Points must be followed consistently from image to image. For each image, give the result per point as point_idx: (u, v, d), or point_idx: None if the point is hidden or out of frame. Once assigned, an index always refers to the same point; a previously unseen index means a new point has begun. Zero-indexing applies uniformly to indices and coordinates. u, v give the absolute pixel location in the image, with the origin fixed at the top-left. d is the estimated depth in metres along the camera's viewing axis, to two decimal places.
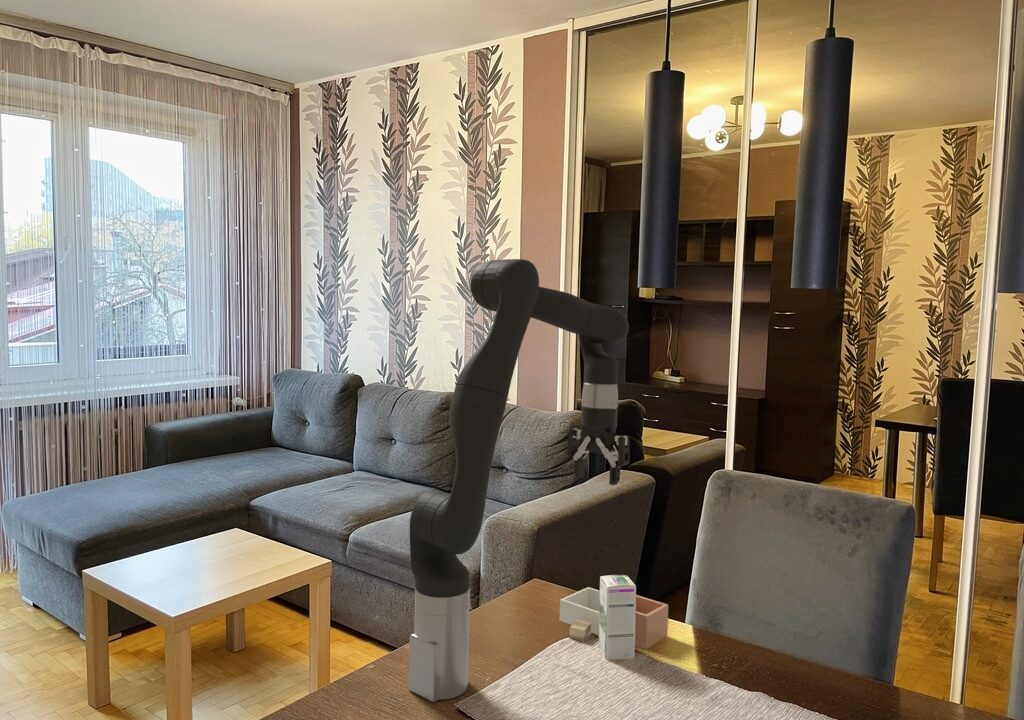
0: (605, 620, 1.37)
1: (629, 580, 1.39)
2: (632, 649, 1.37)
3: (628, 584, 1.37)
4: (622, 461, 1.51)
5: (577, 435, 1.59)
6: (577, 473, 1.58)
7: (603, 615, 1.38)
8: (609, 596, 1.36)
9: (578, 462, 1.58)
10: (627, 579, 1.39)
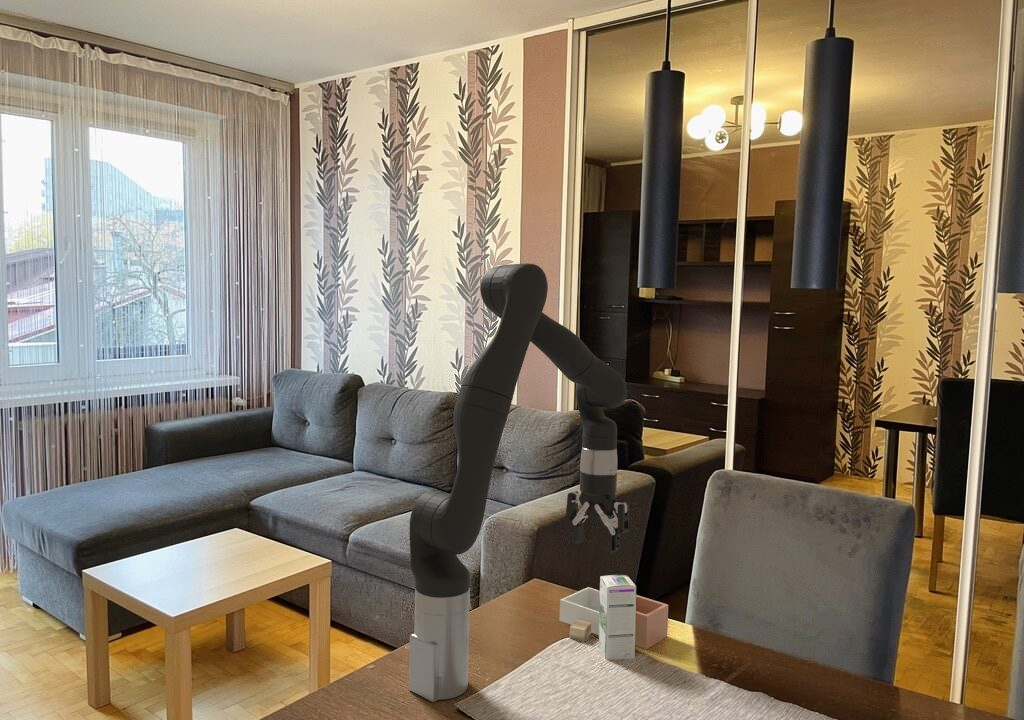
0: (605, 620, 1.37)
1: (629, 580, 1.39)
2: (632, 649, 1.37)
3: (628, 584, 1.37)
4: (622, 529, 1.47)
5: (576, 499, 1.55)
6: (576, 538, 1.55)
7: (603, 615, 1.38)
8: (609, 596, 1.36)
9: (577, 527, 1.55)
10: (627, 579, 1.39)
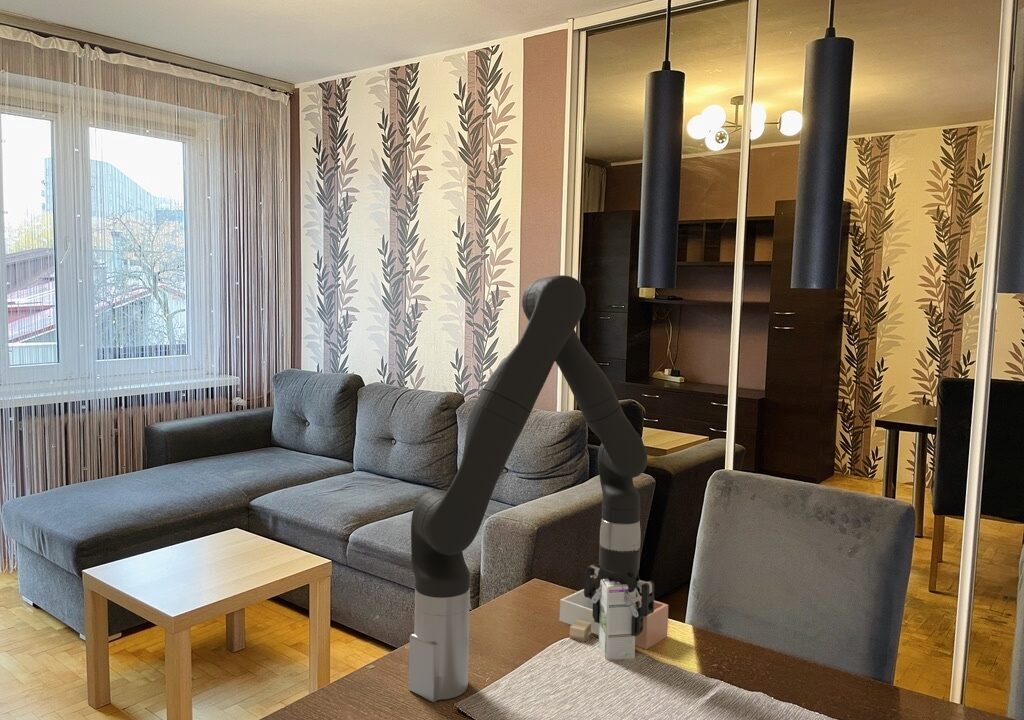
0: (605, 620, 1.37)
1: None
2: (632, 649, 1.37)
3: None
4: (646, 612, 1.34)
5: (595, 574, 1.42)
6: (596, 617, 1.41)
7: (603, 615, 1.38)
8: (609, 596, 1.36)
9: (597, 605, 1.41)
10: None
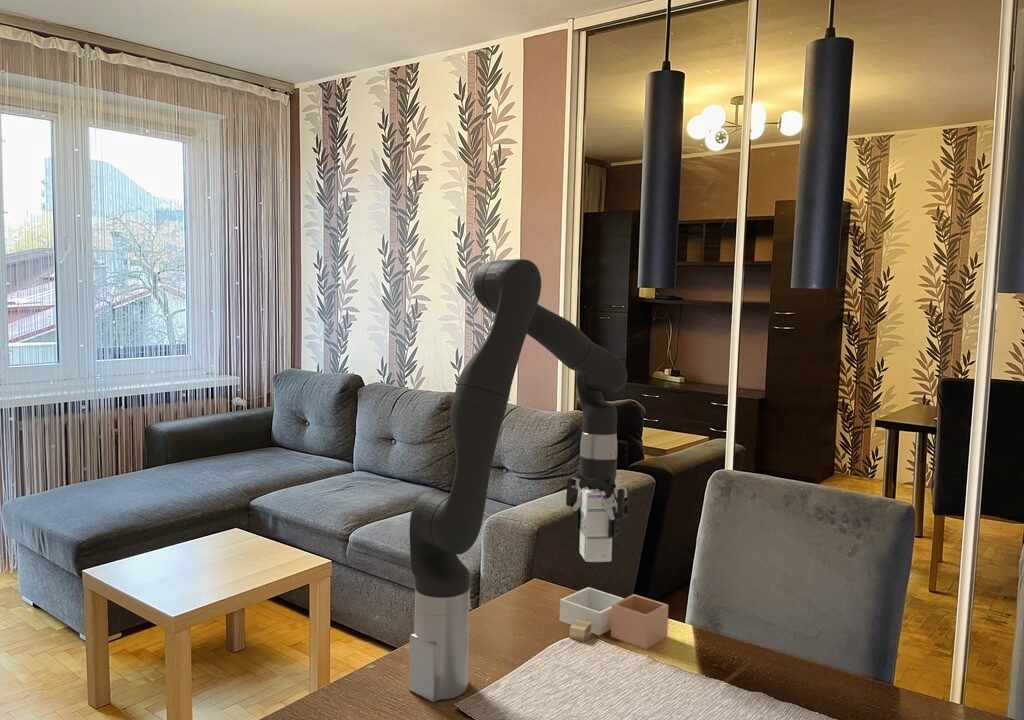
0: (585, 523, 1.50)
1: None
2: (609, 550, 1.50)
3: None
4: (621, 514, 1.47)
5: (576, 485, 1.55)
6: (576, 524, 1.54)
7: (583, 520, 1.51)
8: (588, 501, 1.49)
9: (577, 513, 1.54)
10: None
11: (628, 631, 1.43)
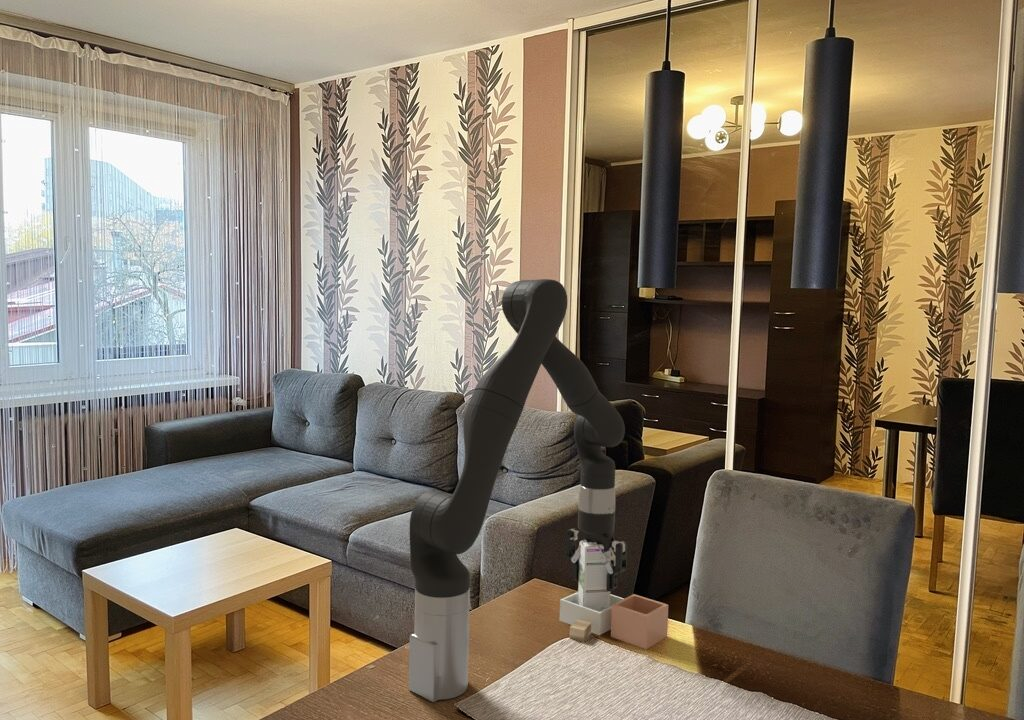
0: (583, 577, 1.51)
1: None
2: (607, 603, 1.51)
3: None
4: (619, 568, 1.48)
5: (574, 537, 1.56)
6: (575, 576, 1.55)
7: (581, 573, 1.52)
8: (586, 555, 1.50)
9: (576, 565, 1.55)
10: None
11: (628, 631, 1.43)
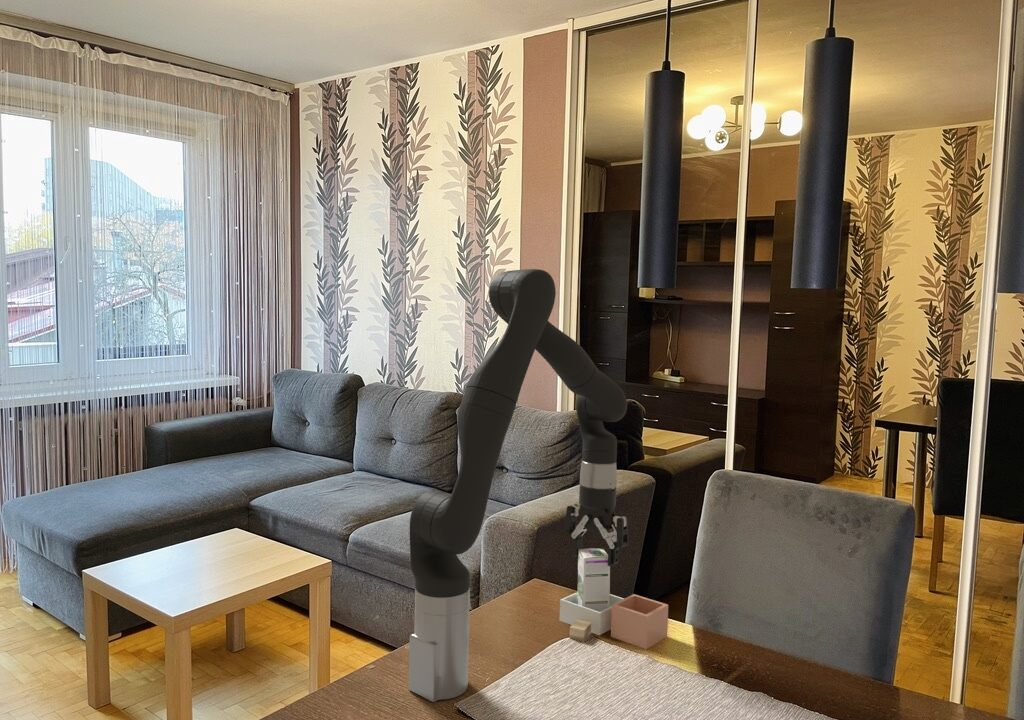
0: (582, 588, 1.51)
1: (604, 552, 1.53)
2: None
3: (603, 556, 1.51)
4: (621, 543, 1.47)
5: (575, 512, 1.55)
6: (575, 551, 1.55)
7: (580, 584, 1.52)
8: (585, 567, 1.50)
9: (576, 540, 1.55)
10: (602, 551, 1.54)
11: (628, 631, 1.43)
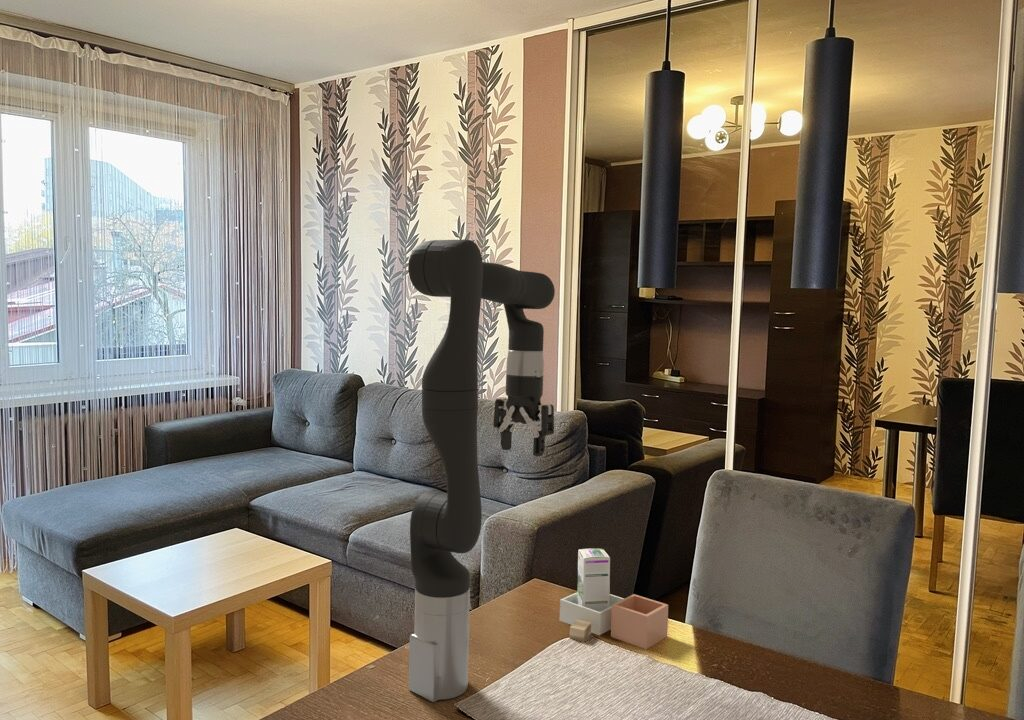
0: (582, 588, 1.51)
1: (604, 552, 1.53)
2: None
3: (603, 556, 1.51)
4: (545, 431, 1.45)
5: (503, 405, 1.53)
6: (503, 445, 1.52)
7: (580, 584, 1.52)
8: (585, 567, 1.50)
9: (504, 433, 1.52)
10: (602, 551, 1.54)
11: (628, 631, 1.43)
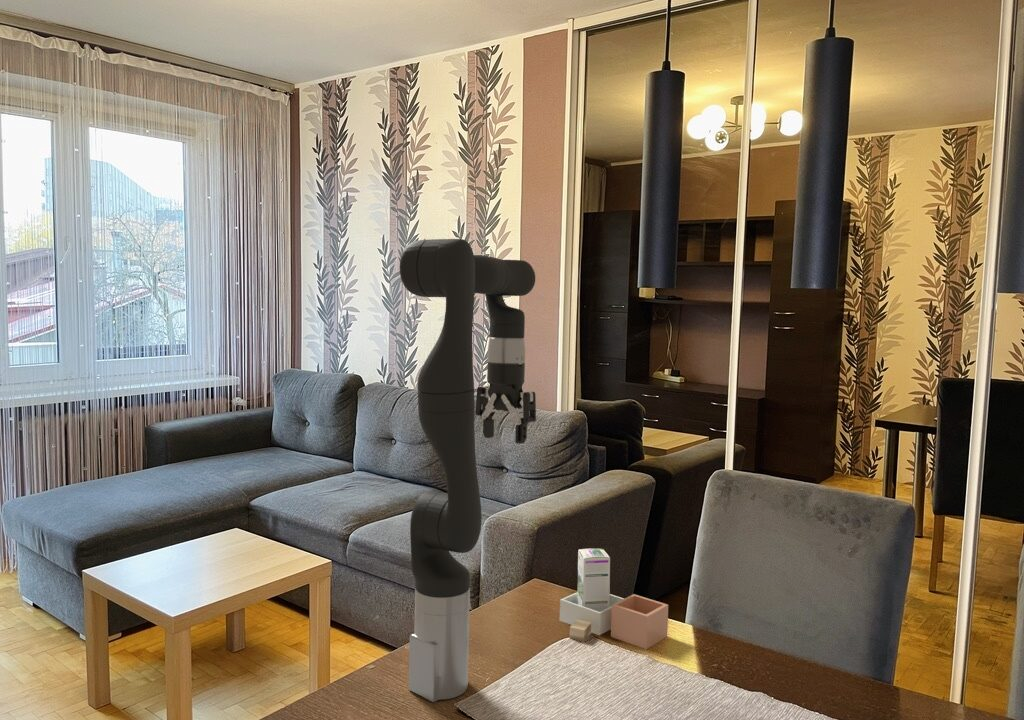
0: (582, 588, 1.51)
1: (604, 552, 1.53)
2: None
3: (603, 556, 1.51)
4: (527, 418, 1.44)
5: (485, 393, 1.52)
6: (485, 432, 1.52)
7: (580, 584, 1.52)
8: (585, 567, 1.50)
9: (486, 421, 1.52)
10: (602, 551, 1.54)
11: (628, 631, 1.43)
